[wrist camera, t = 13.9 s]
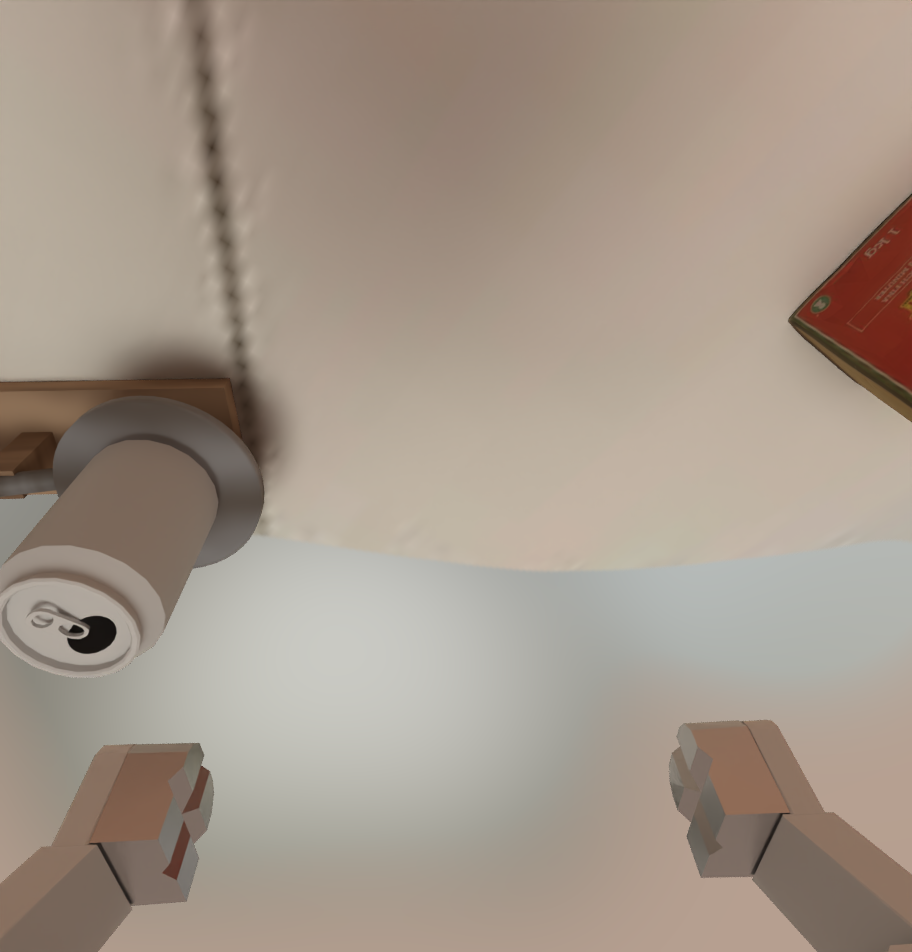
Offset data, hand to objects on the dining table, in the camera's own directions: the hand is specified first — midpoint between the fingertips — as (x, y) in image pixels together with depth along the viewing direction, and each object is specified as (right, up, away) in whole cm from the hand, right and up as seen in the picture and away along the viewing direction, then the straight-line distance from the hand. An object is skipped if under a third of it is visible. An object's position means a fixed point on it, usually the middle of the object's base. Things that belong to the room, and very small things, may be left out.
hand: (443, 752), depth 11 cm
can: (-18, +4, +28) cm, 33 cm away
